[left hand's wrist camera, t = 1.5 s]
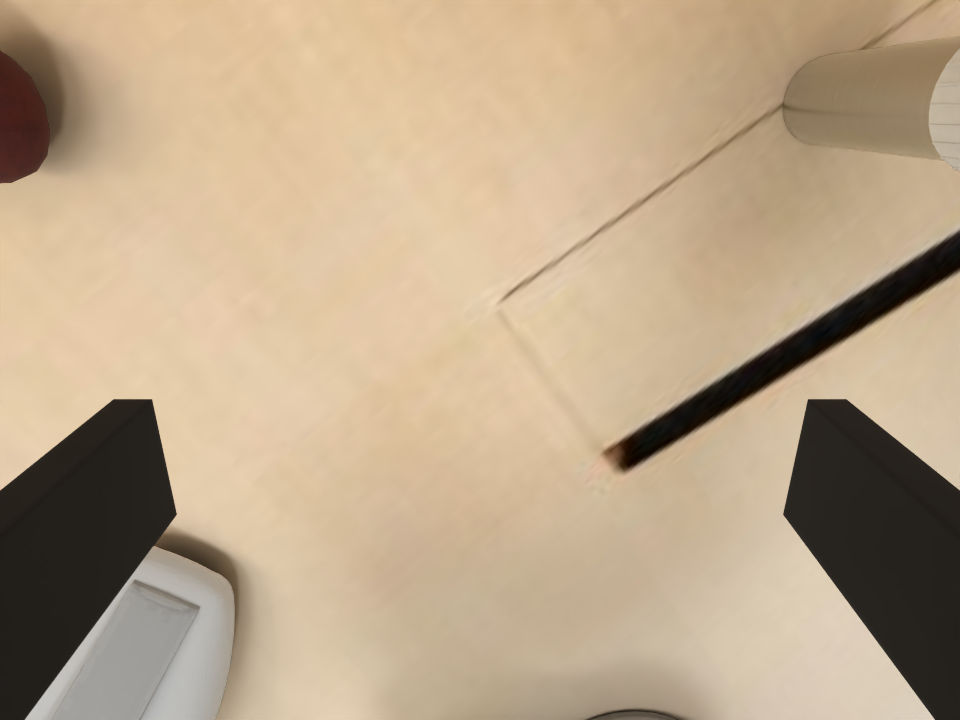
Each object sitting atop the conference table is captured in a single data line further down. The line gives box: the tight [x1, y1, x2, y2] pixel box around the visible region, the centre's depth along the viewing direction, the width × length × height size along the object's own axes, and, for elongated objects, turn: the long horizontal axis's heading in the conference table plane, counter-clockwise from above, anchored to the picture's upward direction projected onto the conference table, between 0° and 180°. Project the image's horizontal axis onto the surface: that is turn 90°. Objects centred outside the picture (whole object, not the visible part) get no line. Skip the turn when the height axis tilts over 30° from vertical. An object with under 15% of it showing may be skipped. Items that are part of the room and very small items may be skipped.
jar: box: [783, 36, 960, 161], centre depth 29 cm, size 5×5×15 cm
